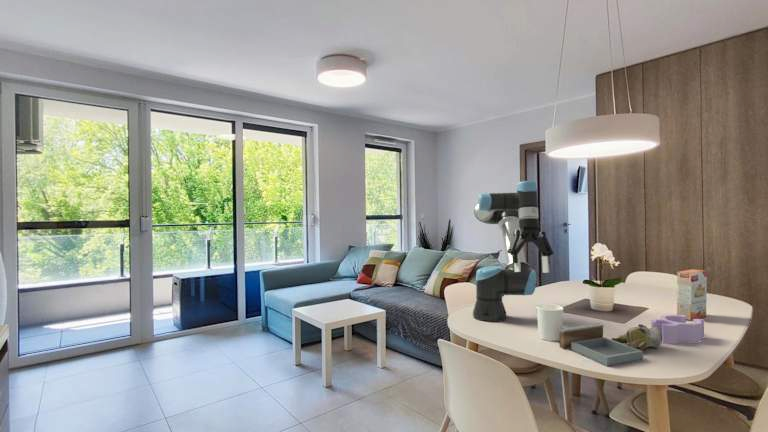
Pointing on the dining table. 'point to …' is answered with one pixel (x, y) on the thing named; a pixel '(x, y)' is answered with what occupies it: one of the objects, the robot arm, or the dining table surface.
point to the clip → (679, 329)
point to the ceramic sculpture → (641, 337)
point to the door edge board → (579, 334)
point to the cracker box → (691, 293)
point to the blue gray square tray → (607, 351)
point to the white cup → (549, 321)
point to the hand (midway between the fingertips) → (532, 272)
